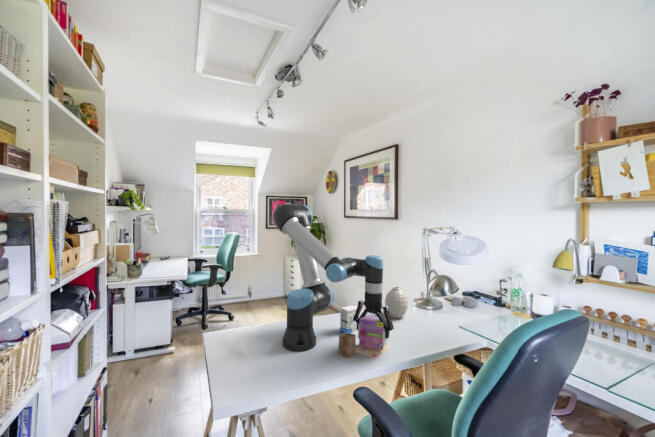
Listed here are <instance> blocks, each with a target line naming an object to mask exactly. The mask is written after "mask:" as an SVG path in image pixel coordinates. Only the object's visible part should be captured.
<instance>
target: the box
mask: <svg viewBox="0 0 655 437" xmlns="http://www.w3.org/2000/svg"><path fill="white" fill-rule="evenodd" d="M383 331H384V328H383V322H380V320H379V318H378V316H373V315H372V316H370V315H366V316H364V317H361V318H360V328H359V338H358V340H359V344H358V347H359V346H365V347H371V348H377V349H382V350H383V348H384V346H383Z"/></svg>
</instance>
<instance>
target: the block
mask: <svg viewBox="0 0 655 437" xmlns="http://www.w3.org/2000/svg"><path fill="white" fill-rule="evenodd" d="M356 337H357V336H356V334H353V333H347V332H345V333H341V334H339V335H338V355H340V356H342V357H345V358H348V359H350V358H351V357H352V356H353V355H355V354H356V352H355V349H356V339H357V338H356Z"/></svg>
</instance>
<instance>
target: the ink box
mask: <svg viewBox="0 0 655 437" xmlns="http://www.w3.org/2000/svg"><path fill="white" fill-rule="evenodd" d="M357 307H358V306H355V305H354V304H353V305H352V304H351V305H347V306H344V307H340V316H339V317H340V322H339V323H340V324H339V325H340V327H339V328H340V329H339V331H340V332H341V334H343V333H345V332H347V333H351V334H353V333H354V332H358V330H357V323H356V321H353V317H354V315H355V312H356V310H357ZM359 317H360V316H359ZM359 317H358V318H359Z"/></svg>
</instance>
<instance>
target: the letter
mask: <svg viewBox="0 0 655 437" xmlns="http://www.w3.org/2000/svg"><path fill="white" fill-rule="evenodd" d="M390 347H391V345H389V344H387V345H386V346H384V348H383V350H382V349H377V348H371V347H365V346H359V345H358V346H357V347H355V353H357V354H360V355H363V356H366V357H368V358H370V359H371V358H372V359H373V360H376V359H377V358H379V357H380V356H382V354H384V352H386V351H387V350H388V349H389V348H390Z"/></svg>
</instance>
